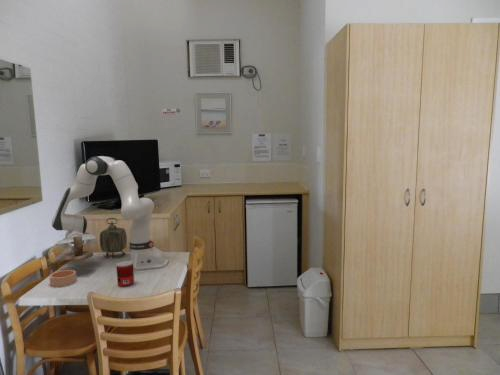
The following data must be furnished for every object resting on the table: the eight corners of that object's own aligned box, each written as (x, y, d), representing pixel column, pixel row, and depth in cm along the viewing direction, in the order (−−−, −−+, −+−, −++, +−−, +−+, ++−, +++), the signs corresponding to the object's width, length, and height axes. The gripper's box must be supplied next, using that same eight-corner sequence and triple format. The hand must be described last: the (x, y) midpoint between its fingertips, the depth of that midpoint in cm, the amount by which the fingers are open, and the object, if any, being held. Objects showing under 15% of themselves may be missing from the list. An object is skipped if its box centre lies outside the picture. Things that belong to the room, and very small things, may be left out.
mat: (100, 267, 209) (100, 266, 209) (88, 277, 193) (88, 276, 193) (72, 268, 208) (71, 267, 208) (58, 278, 192) (58, 277, 192)
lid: (97, 252, 207) (95, 233, 205) (86, 260, 193) (85, 240, 192) (72, 253, 206) (70, 234, 205) (60, 261, 192) (58, 241, 191)
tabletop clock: (127, 254, 234) (125, 216, 231) (123, 258, 225) (120, 219, 222) (105, 254, 234) (102, 216, 231) (99, 259, 225) (96, 219, 222)
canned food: (137, 282, 185) (136, 261, 184) (126, 288, 178) (124, 266, 176) (126, 280, 188) (124, 259, 187) (114, 285, 181) (113, 264, 180)
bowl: (80, 278, 192) (79, 269, 191) (70, 287, 180) (69, 277, 179) (57, 279, 191) (56, 270, 191) (45, 288, 180) (44, 278, 179)
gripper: (54, 237, 204) (56, 243, 192) (93, 232, 215) (97, 236, 203) (55, 248, 205) (57, 254, 193) (94, 242, 215) (98, 247, 204)
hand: (78, 245), depth 198 cm, fingers closed on lid, 4 cm apart
